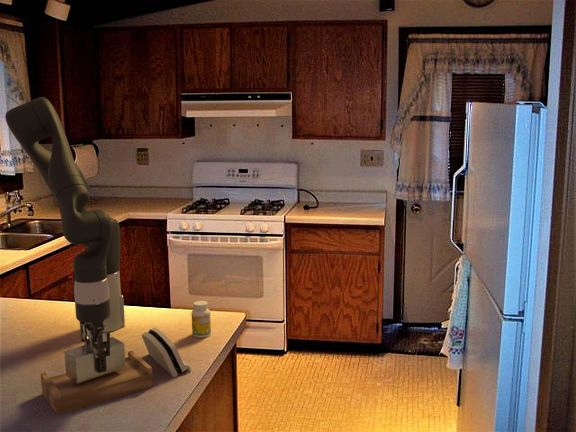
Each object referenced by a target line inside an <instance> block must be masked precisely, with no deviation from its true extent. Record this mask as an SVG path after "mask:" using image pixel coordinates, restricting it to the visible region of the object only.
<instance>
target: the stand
mask: <svg viewBox="0 0 576 432" xmlns="http://www.w3.org/2000/svg"><path fill="white" fill-rule="evenodd" d="M127 354H128V355H127V357H125V368H122V369H119V370H116V371H113V372H110V373H107V374H104V375H101V376H98V377H95V378H92V379H89V380H86V381H83V382H80V383H76V382H74V381H73V380H72V379H70V378H69V377H67V376H66V372H65V373H63V374H59V375H54V376H51V377H49V375H48V374H47V373H46V372H43V373H40V381H41V383H40V384H41V393H42V396H43V397H44V398H45V400H46V401H47V402H48V404H49V405H50V407H51V408H52V410H53V411H54V413H55V414H56V415H57V416H60V415H63V414H67V413H70V412H73V411H74V412H75V411H76V410H80V409H84V408H87V407H90V406H93V405H97V404H101V403H104V402H108V401H111V400H113V399H118V398H120V397H121V398H122V397H124V396H127V395H128V396H129V395H130V394H133V393H137V392H141V391H143V390H144V391H145V390H147V389H151V388H153V387H154V384H153V367H152V366H151V365H150V364H148V363H147V362H146V361H145V360H144V359H142V358H141V357H140V356H139V355H138V354H136V353H135V352H134V351H133V350H129V351H127Z"/></svg>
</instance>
